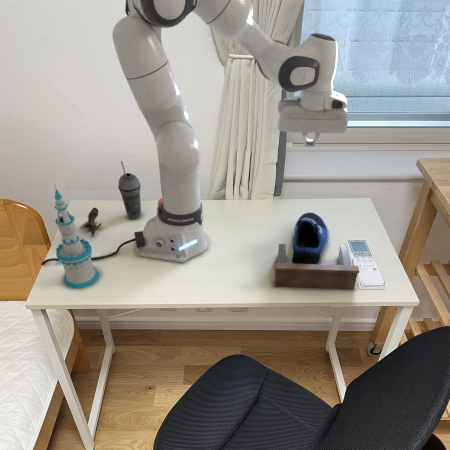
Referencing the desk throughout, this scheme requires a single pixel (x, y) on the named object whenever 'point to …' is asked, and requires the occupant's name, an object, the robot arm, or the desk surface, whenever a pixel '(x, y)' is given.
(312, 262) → the shoe
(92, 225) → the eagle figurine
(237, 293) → the desk surface
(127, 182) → the beverage cup
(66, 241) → the model tower
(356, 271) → the wooden u-shaped bracket
